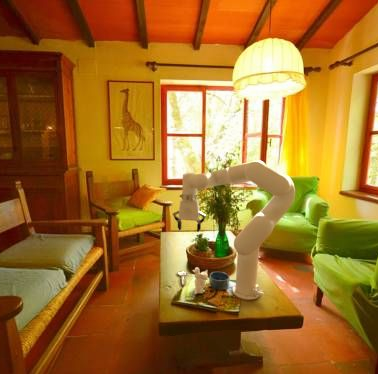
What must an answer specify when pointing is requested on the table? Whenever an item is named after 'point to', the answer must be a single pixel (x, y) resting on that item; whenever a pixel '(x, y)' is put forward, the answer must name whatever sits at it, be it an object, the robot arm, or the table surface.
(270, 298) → the table surface
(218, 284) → the bowl
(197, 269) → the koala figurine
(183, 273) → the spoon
